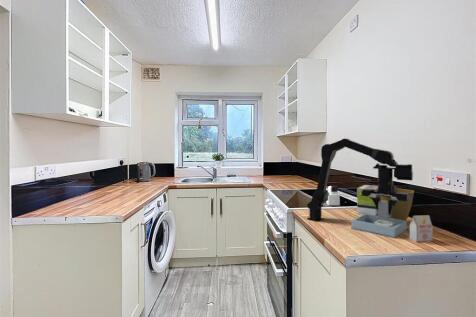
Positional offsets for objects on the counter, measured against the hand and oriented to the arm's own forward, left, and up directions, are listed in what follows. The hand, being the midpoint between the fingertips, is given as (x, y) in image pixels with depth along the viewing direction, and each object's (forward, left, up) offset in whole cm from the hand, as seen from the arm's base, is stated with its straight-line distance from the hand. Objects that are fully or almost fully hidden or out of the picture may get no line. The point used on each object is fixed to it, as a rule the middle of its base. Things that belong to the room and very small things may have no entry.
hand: (384, 213), depth 120 cm
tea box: (+30, +18, -8) cm, 36 cm away
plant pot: (+17, +1, -8) cm, 19 cm away
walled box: (0, +2, -8) cm, 8 cm away
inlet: (0, 0, -8) cm, 8 cm away
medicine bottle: (+34, +43, -8) cm, 56 cm away
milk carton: (-3, -15, -8) cm, 17 cm away
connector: (0, 0, -2) cm, 2 cm away
